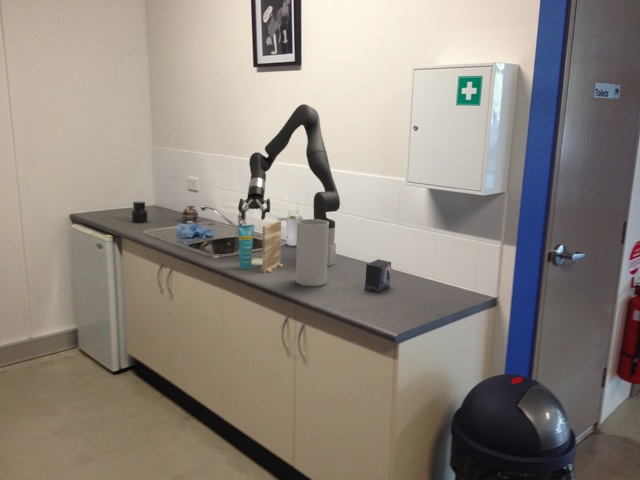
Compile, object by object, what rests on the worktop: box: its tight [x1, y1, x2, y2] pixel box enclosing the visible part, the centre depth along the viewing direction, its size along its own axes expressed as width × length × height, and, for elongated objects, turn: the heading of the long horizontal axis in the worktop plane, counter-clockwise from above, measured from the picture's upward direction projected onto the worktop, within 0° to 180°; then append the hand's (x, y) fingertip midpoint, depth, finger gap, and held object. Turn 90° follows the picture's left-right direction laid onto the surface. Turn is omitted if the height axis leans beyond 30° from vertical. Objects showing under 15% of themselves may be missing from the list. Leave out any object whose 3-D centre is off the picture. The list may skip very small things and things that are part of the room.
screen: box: [259, 220, 284, 274], centre depth 249 cm, size 5×14×20 cm, turn 155°
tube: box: [237, 224, 255, 270], centre depth 249 cm, size 7×5×19 cm, turn 123°
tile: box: [251, 257, 262, 267], centre depth 261 cm, size 11×11×1 cm
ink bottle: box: [131, 200, 148, 224], centre depth 345 cm, size 10×9×12 cm
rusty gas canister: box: [181, 205, 199, 224], centre depth 349 cm, size 10×10×10 cm
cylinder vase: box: [295, 218, 329, 287], centre depth 230 cm, size 12×12×25 cm
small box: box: [364, 259, 392, 293], centre depth 227 cm, size 11×6×10 cm, turn 148°
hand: (252, 219), depth 258 cm, fingers open, 8 cm apart
